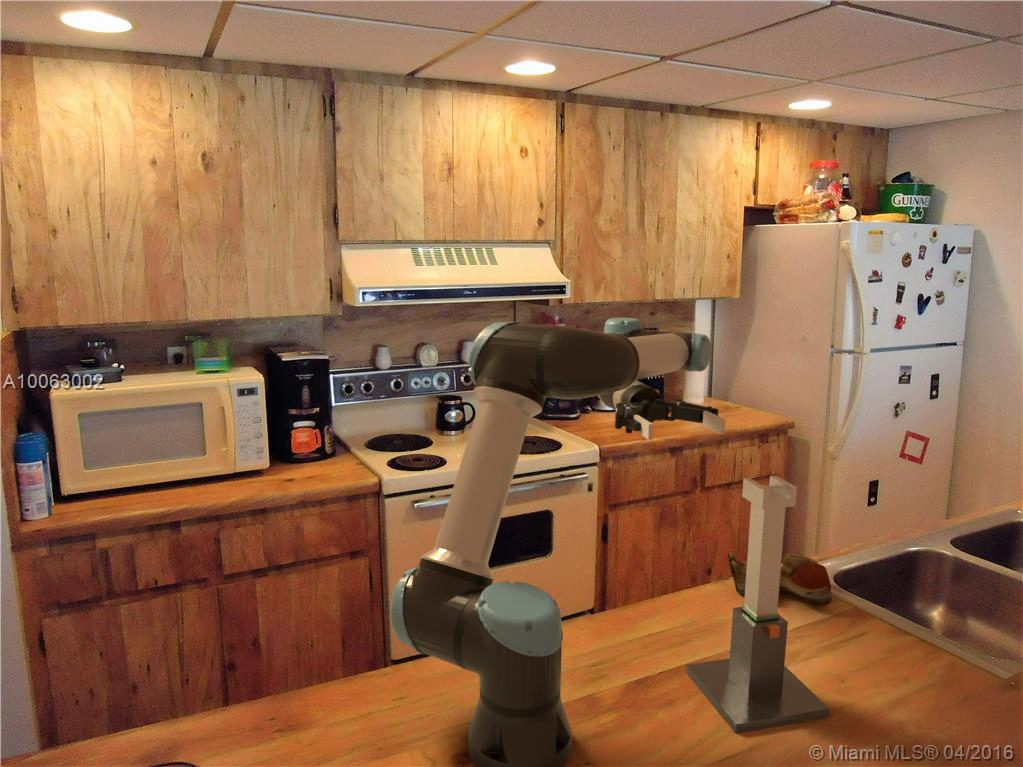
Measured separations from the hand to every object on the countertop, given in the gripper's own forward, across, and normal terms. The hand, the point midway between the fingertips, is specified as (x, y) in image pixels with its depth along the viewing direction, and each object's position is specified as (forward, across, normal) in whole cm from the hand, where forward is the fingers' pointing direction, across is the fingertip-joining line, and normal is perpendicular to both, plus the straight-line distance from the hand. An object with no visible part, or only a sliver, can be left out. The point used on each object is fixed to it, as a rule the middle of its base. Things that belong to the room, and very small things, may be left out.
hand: (687, 429), depth 128 cm
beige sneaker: (-11, -28, -40) cm, 51 cm away
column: (+18, -5, -32) cm, 37 cm away
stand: (+18, -5, -40) cm, 44 cm away
